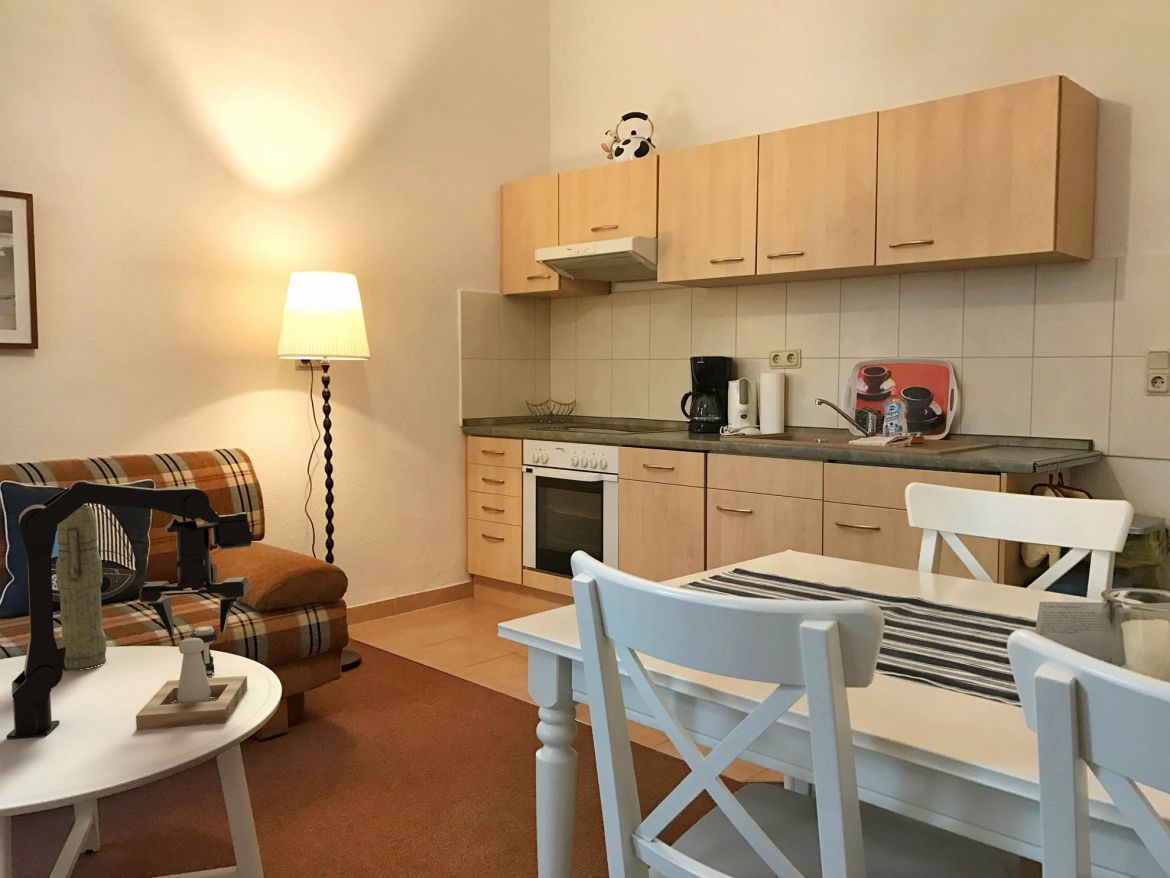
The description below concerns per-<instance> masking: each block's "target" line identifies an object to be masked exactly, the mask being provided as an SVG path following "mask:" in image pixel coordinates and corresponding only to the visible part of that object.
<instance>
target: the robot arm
mask: <svg viewBox="0 0 1170 878" xmlns="http://www.w3.org/2000/svg"><path fill="white" fill-rule="evenodd" d="M88 504H91V505H92V504H93V505H101V506H102V505H103V506H114V507H115V506H116V507H126V508H137V509H146V510H147V509H148V510H149V509H150V510H155V511H160V512H164V513H166V514H169V515H174V516H177V517H180V518H185V519H188V520H185V521H184V520H183V521H178V519H177V518H176V517H173V518H171V521H170V522H169V523H168V524H167V525H165V527H164V528H163V529H164V530H165V531H166V532H167V533H175V534H176V536H175V537H176V538H175V539H176V555H177V557H176V558H177V561H175V562H176V567H177V576H178V580H177V581H178V582H177V584H174V585H173V584H172V585H170V584H171V583H170V582H169V581H168V580H162V581H161V580H160V581H157V580H156V581H149V582H147V583H146V584H144V585H143V586H142V587H141V588H140V589H139V592H138V594H139V595H138V597H139V603H147V607H152V608H153V609H154V611H155V612H156V613H157V615H158V616H159V618H160V620H161V621H162V623H163V625H164V627H165V629H166V630H167V632H168V634H169V636H170V637H174V635H175V625H174V618H173V611H172V600H173V599H172V598H173V596H183V595H200V594H201V595H202V594H218V593H219V594H220V593H221V595H223V597H222V598H221V599H220V603H219V604H220V608H219V627H220V633H221V634H223V633H225V630H226V627H227V624H228V620H229V617H230V613H231V610H232V607H233V605H234V603H235V602H238V601H239V599H241V598H242V597H245V595H246V594H247V593H248V592H249V591H250V582H249V579H248V578H247V577H246V576H240V577H239V576H238V577H226V578H225V580H223V581H222V582H217V581H218V565H217V564H215V563H213V562H212V555H211V554H210V553H211V552H210V550H211V549H210V548H211V547H210V541H211V544H212V546H217V548H218V550H219V551H226V550H233V549H242V548H250V547H251V545H252V540H253V539H252V537H253V536H252V535H253V534H252V530H251V527H250V522H249V520H248V519H249V517H248V513H246V512H237V513H233V514H223V515H218V511H217V512H216V511H215V510H214V509H213V508H212V507H211V505H210V499H209V496H208V495H207V493H206V492H205V491H203V490H201V489H200V488H197V487H195V486H192V485H191V486H190V485H189V486H188V485H186V486H170V487H159V488H149V487H142V486H141V487H140V486H130V485H119V484H110V483H109V484H108V483H100V482H91V481H87V480H83V479H82V480H81V479H80V480H75V481H74V482H73V483H71V484H70V485H69V486H68V487H67V488H66V489H64V490H62V491H60V492H58V493H57V494H55V495H54V496H52V497H51V498H49V499H48V500H46V501H44V502H43V503H42V504H34V505H33V504H32V505H29V506H28V507H26V508H25V509H24V510H23V511H21V513H20V514H19V518H18V526H19V531H20V535H21V539H22V544H23V548H24V551H25V555H26V558H27V574H28V575H27V576H28V577H27V579H28V582H27V583H28V602H29V603H28V604H29V605H28V606H29V607H28V608H29V627H30V628H29V630H30V632H29V639H28V645H27V649H26V656H25V661H24V669H23V670H22V671H21V673H20V674H18V676H16V678H15V679H13V681H12V682H11V697H12V708H13V709H12V710H13V711H12V712H13V725H14V727H13V729H12V730H11V731H10V732H8V733H7V734H6V735H5V736H6V737H7V738H6V739H10V738H9V737H19V738H30V737H31V738H32V737H43V736H47V735H48V734H49V733H50V732H52V731H53V730H54V729H55V728H56V727H57V726H58V725H60V720H52V703H51V702H52V700H51V692H52V689H53V688H55V687H56V686H57V685H58V684H59V683H60V682H61V681H62V679H63V674H64V673H63V671H65V672H66V671H68V670H67V667H66V662H65V659H64V658H65V652H66V646H65V642H64V640H63V641H61V640H58V641H56V637H55V631H54V630H55V629H54V603H53V601H54V600H53V579H52V578H53V573H52V572H53V571H52V556H53V552H54V551H53V550H54V548H55V547H54V546H55V541H56V536H57V525H58V524H59V523H60V522H62V521H63V520H65V519H66V518H67V517H69V516H70V515H71V514H72V513H74V512H75V511H76V510H77V509H79V508H80V507H81V506H83V505H88ZM197 519H201V520H203V521H204V522H207V523H203V524H202V523H201V524H197V521H196V520H197ZM209 531H210V532H209ZM209 533H210V534H209ZM210 539H211V540H210Z"/></svg>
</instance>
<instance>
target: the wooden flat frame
mask: <svg viewBox="0 0 1170 878" xmlns="http://www.w3.org/2000/svg"><path fill="white" fill-rule="evenodd" d="M207 679H208V683H209V687H210V691H211V695H210V697H219V698H217V700H216V701H215V700H214V701H208V702H198V703H183V704H180V703H174V702H175V701H174V700H177V701H178V699H177V694H178V687H179V681H180V679H175V680H167V681H166V682H165V683H164V684H163V685H162V686H161V688H159V690H157V692H156V693H155V694H154V695H153V696H152V697H151V698H150V700H148V702H147V703H146V704H145V705H144V706H143V708H141V709H140V710H139V712H137V714H136V715H135V722H136V723H135V725H136V726H135V727H136V730H137V731H138V730H149V729H161V728H177V727H187V726H188V727H190V726H192V725H193V726H202V724H206V725H218V724H226V723H227V722H228V720H229V719H230V717H231V715H232V714H231V713H233V712H234V710H235V709H234V708H236V707H237V705H238V704H239V702H240V701H239V700H241V699H242V697H243V696H244V694H245V693H246V691H247V689H248V676H247V675H237V676H236V675H235V676H222V677H220V676H219V677H212V678H207ZM244 692H245V693H244ZM242 695H243V696H242ZM173 701H174V702H173ZM172 702H173V703H172ZM237 703H238V704H237ZM229 716H230V717H229ZM226 721H227V722H226Z"/></svg>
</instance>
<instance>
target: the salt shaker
mask: <svg viewBox="0 0 1170 878" xmlns="http://www.w3.org/2000/svg"><path fill="white" fill-rule="evenodd" d="M203 649H204V642H203V640H201V639H200V638H192V637H189V638H185V639H183V640H182V639H181V641H180V642H179V645H178V651H179V653H180V654H182V664H181V668H180V669H181V670H180V676H179V680H180V681H179V687H178V694H177V699H178V700H177V701H178V704H183V703H198V702H209V700H210V699H211V698H210V695H211V691H210V687H209V683H208V679H207V675H206V671H205V667H204V663H203V659H202V655H201V651H203Z"/></svg>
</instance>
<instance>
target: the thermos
mask: <svg viewBox="0 0 1170 878" xmlns="http://www.w3.org/2000/svg"><path fill="white" fill-rule="evenodd" d="M56 536H57V544H58V552H57V553H58V555H57V559H56V562H55V572H56V573H55V576H56V577H55V578H56V589H57V590H58V592H59V603H60V621H61V622H60V623H61V639H60V641H63V640H64V642H65V646H66V652H65V658H64V659H65V662H66V667H67V670H66V671H69V670H76V671H81V670H80V669H86V668H91V667H95V666H98V665H101V664H103V663H105V662H106V663H107V657H106V652H107V636H106V634H105V631H104V629H103V614H102V612H103V610H102V591H101V590H102V589H101V587H102V585H103V565H102V564H103V563H102V557H101V555H100V553H99V547H98V545H97V541H98V526H97V517H96V514H95V511H94V510H93V506H89V504H84V505H83V506H81V507H80V508H79V509H77V510H76V511H75V512H74V513H72V514H71V515H70V516H69V517H67V518H66V519H65V520H63V521H62V522H60V523H59V524H58V525H57V530H56ZM106 663H105V664H106ZM101 666H102V665H101ZM95 668H96V667H95ZM91 669H92V668H91ZM86 670H87V669H86Z"/></svg>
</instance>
